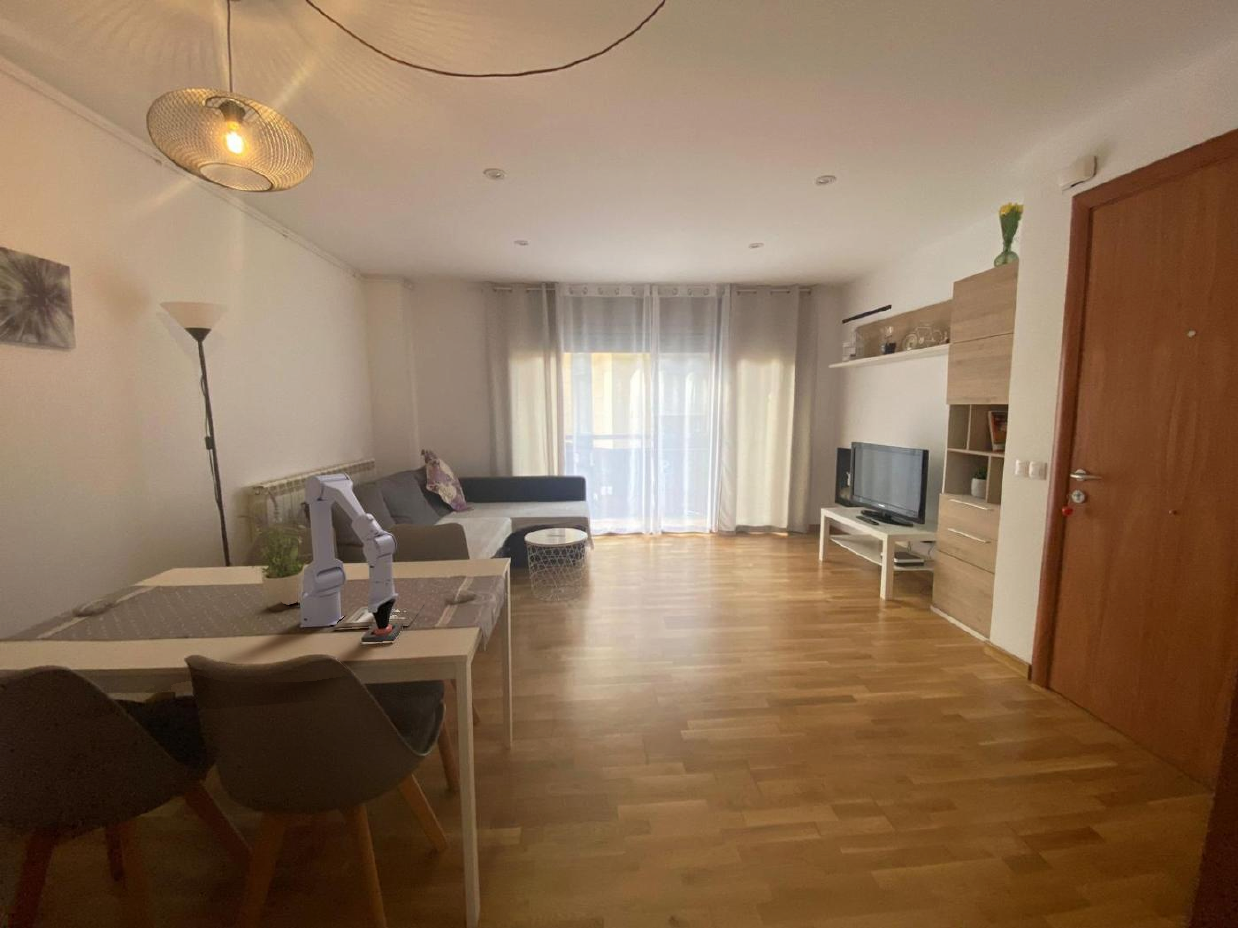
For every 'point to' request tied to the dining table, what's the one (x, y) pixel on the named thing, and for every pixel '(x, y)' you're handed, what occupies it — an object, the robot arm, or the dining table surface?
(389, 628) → the button
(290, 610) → the dining table surface
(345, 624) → the drawing board
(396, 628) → the button housing
